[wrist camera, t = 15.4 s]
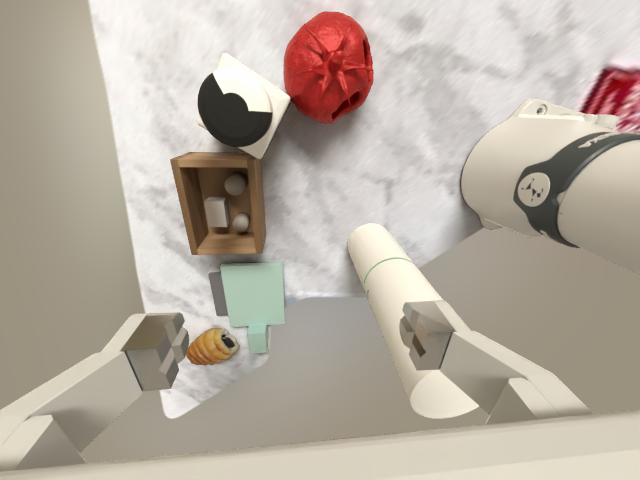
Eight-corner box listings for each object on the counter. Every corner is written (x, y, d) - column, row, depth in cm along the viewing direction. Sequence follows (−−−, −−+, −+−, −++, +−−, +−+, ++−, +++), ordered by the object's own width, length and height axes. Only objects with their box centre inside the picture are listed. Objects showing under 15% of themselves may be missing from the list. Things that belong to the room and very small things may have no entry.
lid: (282, 262, 41) (281, 272, 38) (285, 338, 49) (285, 351, 46) (221, 263, 40) (216, 274, 38) (234, 341, 48) (230, 354, 45)
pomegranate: (272, 97, 32) (262, 91, 23) (307, 4, 28) (309, -43, 20) (341, 135, 34) (354, 142, 26) (381, 55, 30) (412, 32, 22)
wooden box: (260, 153, 34) (254, 160, 29) (266, 234, 39) (262, 253, 34) (189, 152, 33) (170, 159, 28) (205, 235, 38) (191, 255, 33)
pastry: (204, 362, 51) (197, 380, 47) (179, 342, 48) (170, 359, 44) (243, 342, 49) (239, 359, 46) (220, 320, 46) (214, 337, 43)
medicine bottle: (266, 152, 34) (254, 169, 23) (214, 121, 32) (175, 125, 21) (291, 100, 32) (291, 93, 21) (237, 64, 30) (206, 35, 19)
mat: (271, 270, 42) (271, 272, 42) (274, 310, 46) (274, 312, 46) (209, 272, 41) (208, 274, 41) (217, 313, 45) (216, 315, 45)
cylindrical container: (349, 265, 43) (409, 425, 21) (345, 227, 40) (411, 368, 18) (390, 258, 44) (492, 409, 21) (389, 220, 40) (510, 351, 18)
